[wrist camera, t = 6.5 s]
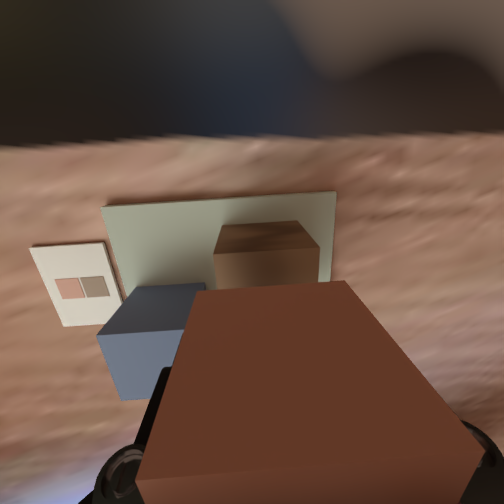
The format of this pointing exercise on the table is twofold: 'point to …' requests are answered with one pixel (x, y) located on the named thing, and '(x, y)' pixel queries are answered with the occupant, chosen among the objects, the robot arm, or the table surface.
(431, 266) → the table surface
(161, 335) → the blue-gray block
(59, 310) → the tile
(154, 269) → the board
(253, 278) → the walnut block
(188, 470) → the terracotta block
